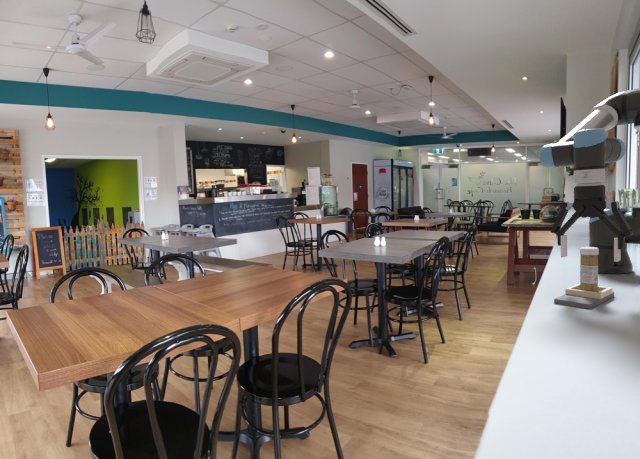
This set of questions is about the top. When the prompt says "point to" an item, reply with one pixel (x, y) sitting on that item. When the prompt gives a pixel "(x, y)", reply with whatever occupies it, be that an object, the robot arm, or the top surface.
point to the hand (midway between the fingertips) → (589, 258)
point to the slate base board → (584, 297)
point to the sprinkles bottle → (589, 269)
